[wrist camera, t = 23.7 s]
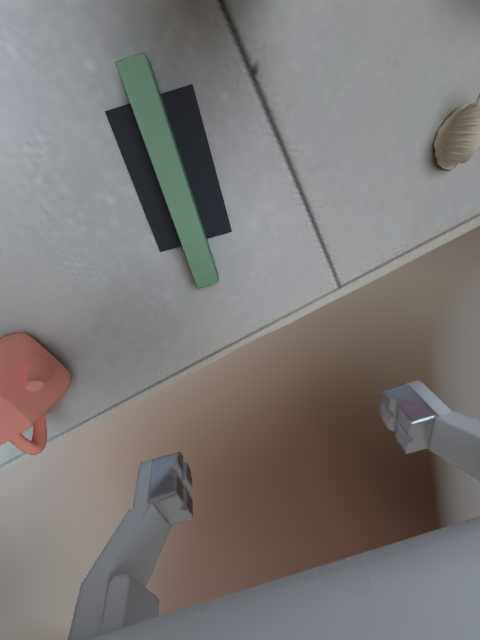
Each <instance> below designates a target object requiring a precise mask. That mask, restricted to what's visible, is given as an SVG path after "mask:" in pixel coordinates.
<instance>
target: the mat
mask: <svg viewBox="0 0 480 640" xmlns="http://www.w3.org/2000/svg"><path fill="white" fill-rule="evenodd" d="M161 97H162V100H163V103H164V106H165V109H166V113H167V116H168V119H169V122H170V125H171V128H172V131H173V134H174V138H175V141H176V144H177V147H178V150H179V153H180V156H181V160H182V163H183V166H184V169H185V172H186V175H187V178H188V181H189V185H190V188H191V191H192V194H193V197H194V200H195V203H196V207H197V210H198V213H199V216H200V219H201V222H202V225H203V228H204V232H205V235H206V238H210V237H214V236H217V235H221V234H224V233H228V232H231V227H230V223H229V220H228V216H227V212H226V208H225V205H224V201H223V197H222V193H221V190H220V186H219V182H218V179H217V175H216V171H215V167H214V164H213V160H212V156H211V152H210V149H209V145H208V141H207V137H206V134H205V130H204V126H203V122H202V119H201V115H200V111H199V107H198V104H197V100H196V96H195V92H194V89H193V85H188V86H185V87H182V88H179V89H176V90H172V91H169V92H166V93H163V94H161ZM105 112H106V115H107V117H108V120H109V122H110V125H111V127H112V130H113V132H114V135H115V137H116V140H117V143H118V145H119V148H120V150H121V153H122V155H123V158H124V160H125V163H126V165H127V168H128V170H129V173H130V176H131V178H132V181H133V183H134V186H135V188H136V191H137V193H138V196H139V198H140V201H141V203H142V206H143V209H144V211H145V214H146V216H147V219H148V221H149V224H150V226H151V229H152V231H153V234H154V236H155V239H156V242H157V244H158V247H159V249H160V251H161V252H162V251H165V250H169V249H172V248H175V247H179V246H182V244H181V242H180V239H179V236H178V233H177V231H176V228H175V225H174V222H173V220H172V217H171V214H170V211H169V209H168V206H167V203H166V200H165V198H164V195H163V192H162V189H161V187H160V184H159V181H158V178H157V176H156V173H155V170H154V167H153V165H152V162H151V159H150V156H149V154H148V151H147V148H146V145H145V143H144V140H143V137H142V134H141V132H140V129H139V126H138V123H137V121H136V118H135V115H134V112H133V110H132V107H131V104H127V105H124V106H121V107H118V108H114V109H111V110H108V111H105Z"/></svg>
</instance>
